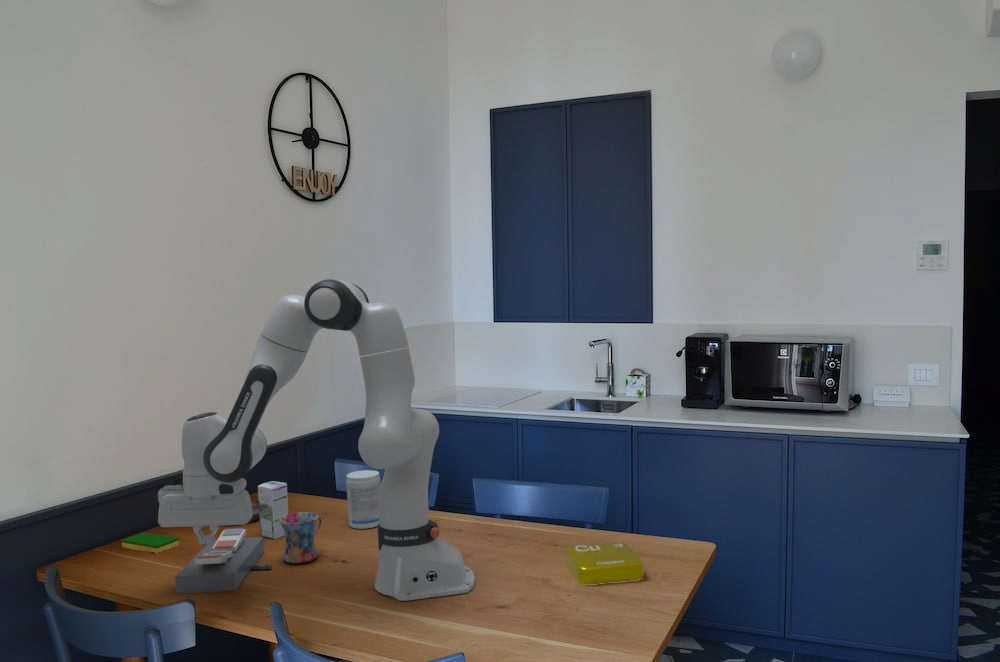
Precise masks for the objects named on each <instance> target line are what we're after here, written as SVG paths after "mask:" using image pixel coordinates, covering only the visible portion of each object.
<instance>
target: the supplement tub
mask: <svg viewBox="0 0 1000 662" xmlns="http://www.w3.org/2000/svg"><path fill="white" fill-rule="evenodd" d="M345 481H346V483H345V484H346V499H347V501H346V502H347V503H346V504H347V515H348V525H349V527H350V528H353V529H359V530H364V529H365V530H368V529H372V528H375V527H378V524H379V502H378V490H379V486H380V484H381V477H380V472H379V471H377V470H369V469H368V470H367V469H366V470H365V469H364V470H357V471H352V472H349V473H347V474H346V480H345Z"/></svg>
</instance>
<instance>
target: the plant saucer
mask: <svg viewBox="0 0 1000 662" xmlns="http://www.w3.org/2000/svg"><path fill="white" fill-rule="evenodd" d="M251 505H252V518H251V520H250V521H249V522H248V523H252V522H255V521H259V520H260V515H259V499H251ZM248 523H247V524H248Z"/></svg>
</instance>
